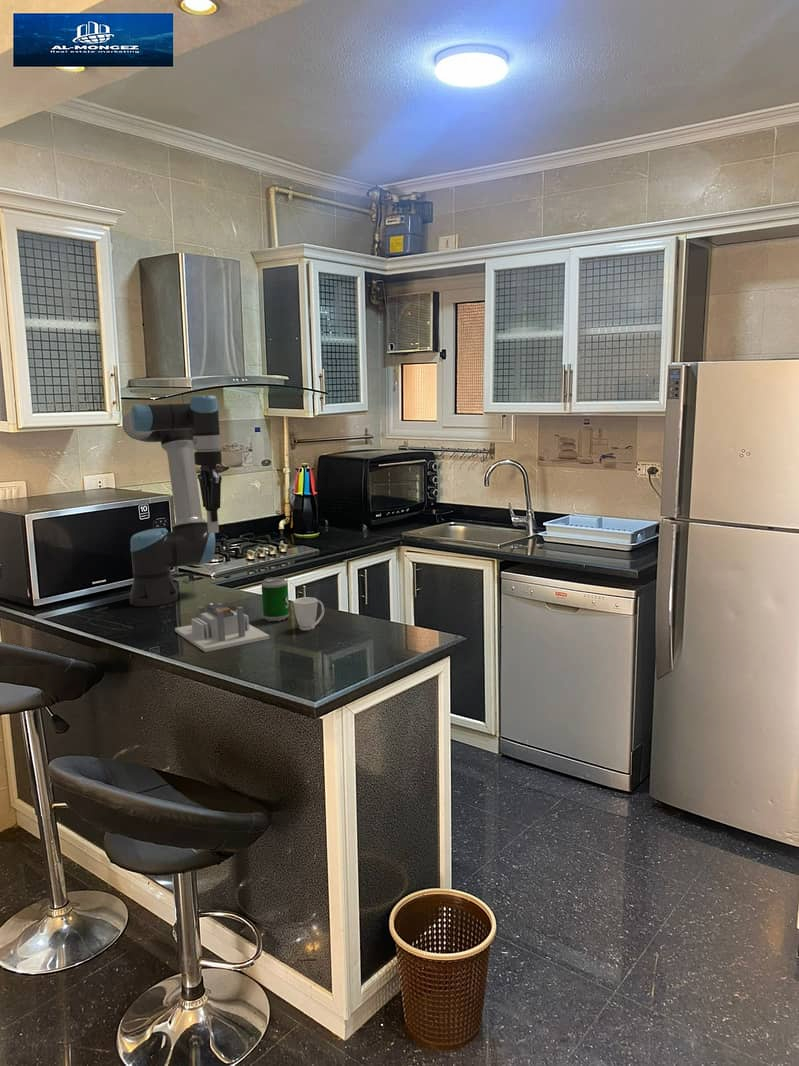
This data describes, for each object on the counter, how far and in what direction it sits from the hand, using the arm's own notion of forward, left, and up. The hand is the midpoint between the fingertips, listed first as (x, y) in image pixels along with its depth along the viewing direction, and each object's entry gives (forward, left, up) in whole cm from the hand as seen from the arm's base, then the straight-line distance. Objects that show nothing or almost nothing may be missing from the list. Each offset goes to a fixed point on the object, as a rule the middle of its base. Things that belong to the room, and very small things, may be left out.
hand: (213, 532), depth 227 cm
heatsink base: (+14, -5, -26) cm, 30 cm away
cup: (+23, +18, -27) cm, 40 cm away
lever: (+13, -5, -20) cm, 25 cm away
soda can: (+9, +14, -27) cm, 31 cm away
